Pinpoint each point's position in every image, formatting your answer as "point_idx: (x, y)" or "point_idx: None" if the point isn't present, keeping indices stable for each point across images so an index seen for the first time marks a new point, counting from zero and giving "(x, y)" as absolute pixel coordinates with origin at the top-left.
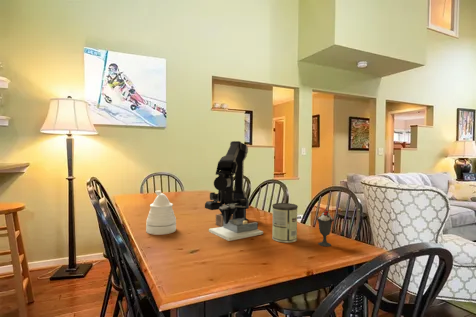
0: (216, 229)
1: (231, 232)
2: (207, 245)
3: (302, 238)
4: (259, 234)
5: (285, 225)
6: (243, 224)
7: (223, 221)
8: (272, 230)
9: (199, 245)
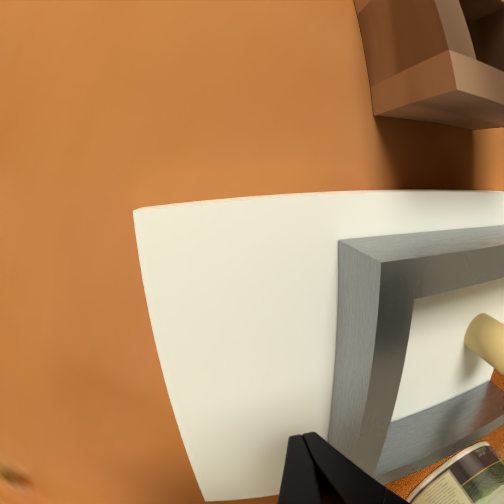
0: (214, 281)
1: (300, 429)
2: (64, 474)
3: None
4: None
5: None
6: (419, 463)
7: (375, 263)
8: (444, 499)
9: (26, 453)
